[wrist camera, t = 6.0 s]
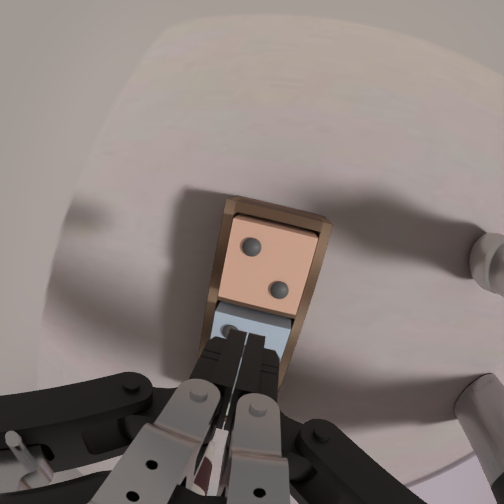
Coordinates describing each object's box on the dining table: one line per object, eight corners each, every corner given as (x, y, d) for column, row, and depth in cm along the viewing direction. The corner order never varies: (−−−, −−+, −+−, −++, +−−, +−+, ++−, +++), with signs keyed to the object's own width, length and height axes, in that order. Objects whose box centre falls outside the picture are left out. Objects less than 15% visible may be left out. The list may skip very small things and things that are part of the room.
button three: (273, 366, 27) (271, 386, 24) (212, 351, 28) (204, 369, 24) (290, 313, 25) (291, 330, 22) (223, 296, 26) (214, 312, 23)
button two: (295, 299, 25) (295, 316, 22) (225, 282, 25) (217, 297, 22) (314, 231, 23) (318, 239, 20) (239, 213, 24) (232, 218, 21)
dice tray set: (265, 402, 33) (262, 429, 28) (201, 385, 33) (190, 411, 29) (324, 216, 26) (332, 224, 22) (237, 195, 27) (226, 199, 22)
